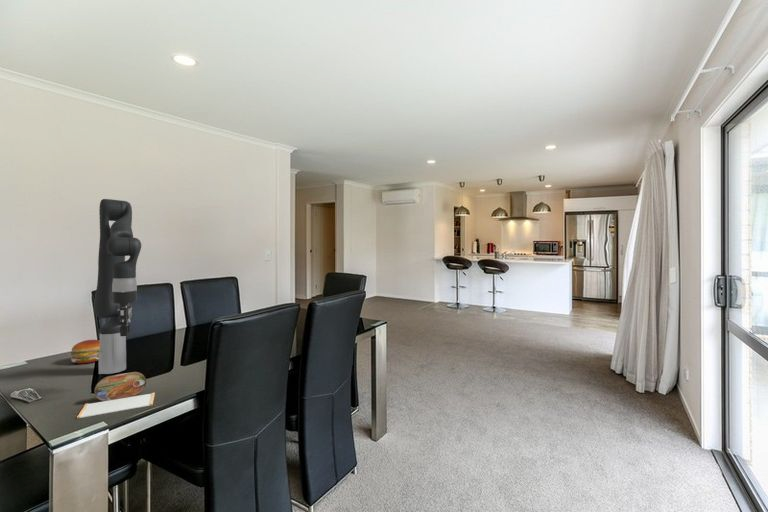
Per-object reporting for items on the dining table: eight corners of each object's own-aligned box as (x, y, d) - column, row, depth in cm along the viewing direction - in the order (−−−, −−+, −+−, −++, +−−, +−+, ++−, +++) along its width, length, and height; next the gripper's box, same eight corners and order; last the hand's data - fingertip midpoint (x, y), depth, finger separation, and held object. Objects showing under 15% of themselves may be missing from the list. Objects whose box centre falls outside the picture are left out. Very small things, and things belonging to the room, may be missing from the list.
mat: (76, 418, 111) (76, 417, 111) (85, 405, 121) (85, 403, 121) (152, 405, 121) (152, 403, 121) (154, 393, 131) (154, 392, 131)
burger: (82, 366, 161) (82, 345, 161) (63, 363, 165) (62, 342, 165) (113, 358, 174) (113, 338, 174) (94, 355, 178) (94, 336, 178)
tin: (94, 404, 122) (94, 379, 122) (94, 400, 125) (94, 377, 125) (146, 393, 131) (146, 371, 131) (146, 390, 134) (145, 368, 134)
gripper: (115, 288, 138) (116, 331, 138) (108, 292, 125) (109, 339, 126) (138, 287, 142) (139, 329, 142) (134, 291, 129) (134, 337, 129)
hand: (125, 334), depth 134 cm, fingers open, 5 cm apart
